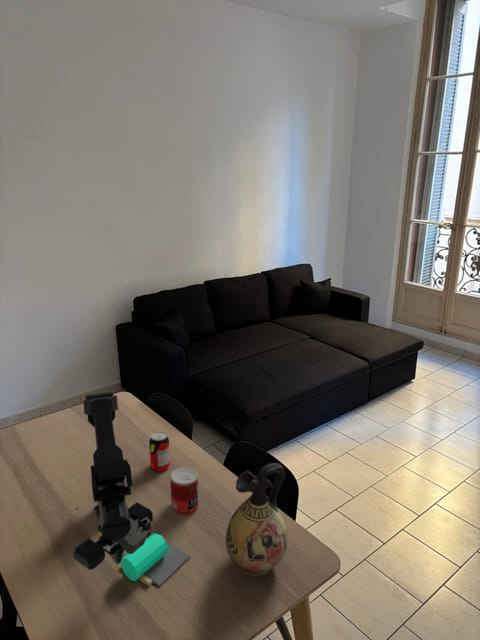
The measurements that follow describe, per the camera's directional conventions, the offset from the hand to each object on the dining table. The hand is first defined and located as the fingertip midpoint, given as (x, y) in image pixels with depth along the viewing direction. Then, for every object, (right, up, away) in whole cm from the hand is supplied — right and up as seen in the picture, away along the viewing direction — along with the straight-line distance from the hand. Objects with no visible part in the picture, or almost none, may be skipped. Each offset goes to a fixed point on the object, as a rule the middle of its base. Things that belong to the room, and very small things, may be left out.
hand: (117, 562), depth 111 cm
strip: (+3, -7, +7) cm, 10 cm away
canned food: (+12, +1, +31) cm, 33 cm away
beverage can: (+2, +7, +48) cm, 49 cm away
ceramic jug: (+33, -6, +12) cm, 36 cm away
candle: (+1, -4, +4) cm, 6 cm away
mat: (+7, -5, +12) cm, 15 cm away
